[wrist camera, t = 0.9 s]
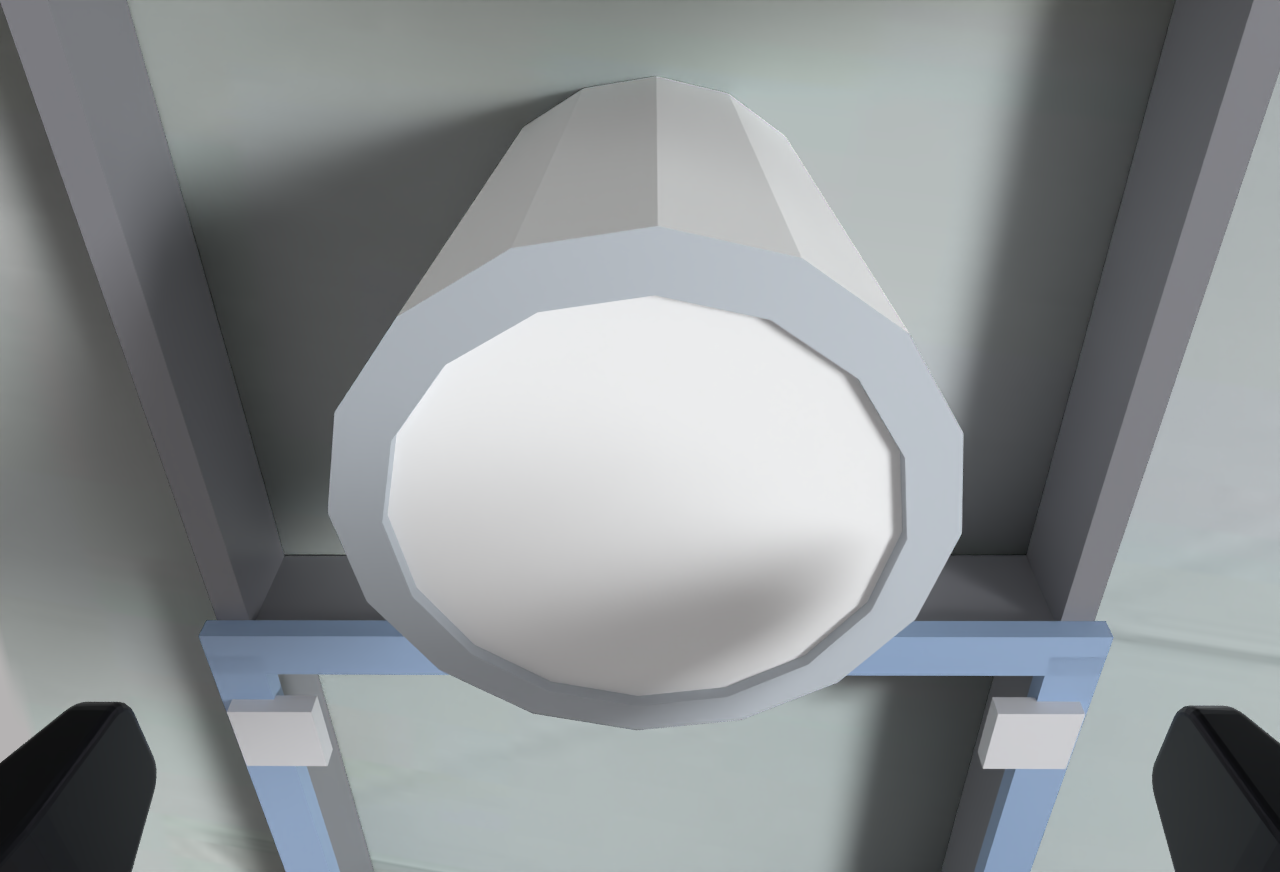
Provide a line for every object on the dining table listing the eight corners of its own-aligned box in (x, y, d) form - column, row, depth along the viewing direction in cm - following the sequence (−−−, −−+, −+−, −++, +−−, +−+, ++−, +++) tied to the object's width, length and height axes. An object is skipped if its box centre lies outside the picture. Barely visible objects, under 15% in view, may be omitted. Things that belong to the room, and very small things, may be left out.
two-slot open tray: (949, 945, 29) (974, 1048, 26) (366, 941, 29) (341, 1043, 27) (1321, -295, 12) (1465, -299, 10) (-14, -273, 13) (-157, -270, 11)
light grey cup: (740, 474, 19) (774, 794, 14) (387, 342, 18) (258, 639, 12) (947, 150, 16) (1113, 398, 10) (526, -53, 14) (434, 105, 8)
